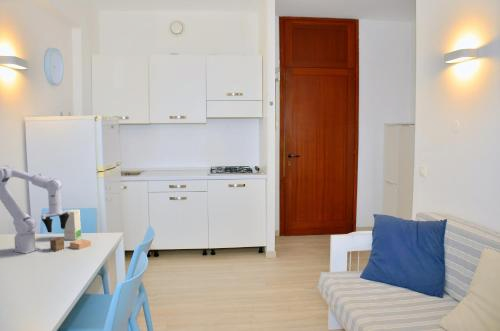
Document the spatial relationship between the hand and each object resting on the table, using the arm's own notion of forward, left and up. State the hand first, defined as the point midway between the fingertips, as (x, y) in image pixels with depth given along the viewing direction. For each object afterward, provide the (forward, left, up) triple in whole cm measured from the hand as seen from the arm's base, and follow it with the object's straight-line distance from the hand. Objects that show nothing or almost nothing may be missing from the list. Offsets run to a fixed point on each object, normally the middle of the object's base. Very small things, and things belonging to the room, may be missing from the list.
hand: (56, 230), depth 210 cm
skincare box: (-11, +18, -10) cm, 23 cm away
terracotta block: (+6, +9, -10) cm, 15 cm away
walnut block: (0, 0, -10) cm, 10 cm away
